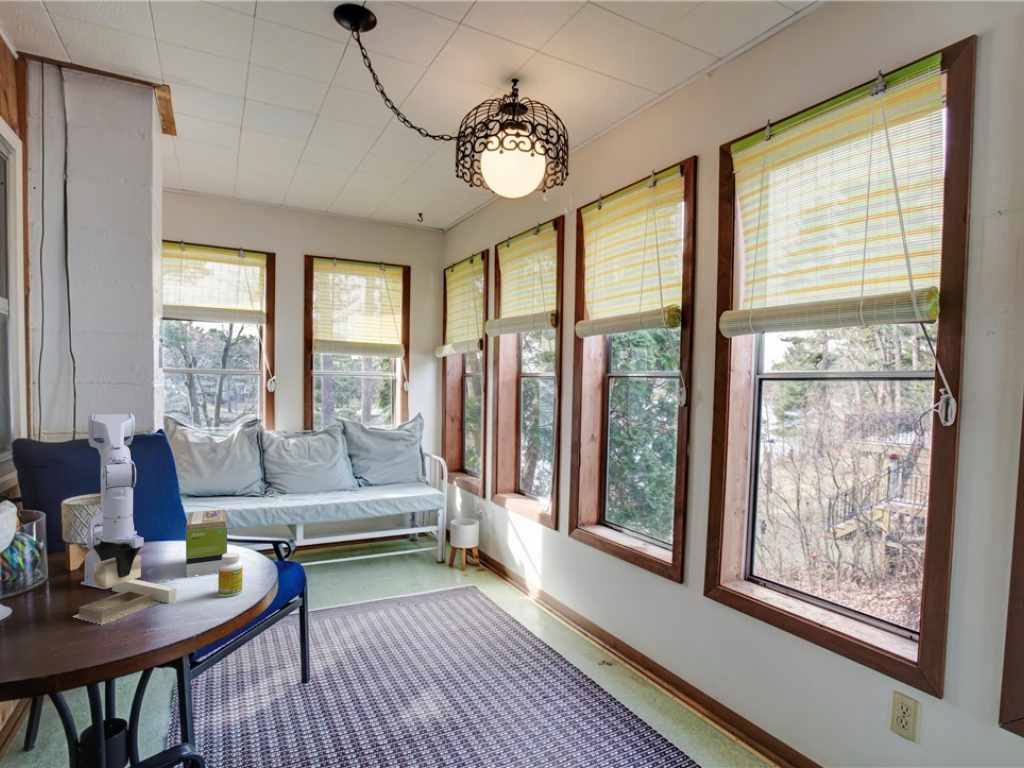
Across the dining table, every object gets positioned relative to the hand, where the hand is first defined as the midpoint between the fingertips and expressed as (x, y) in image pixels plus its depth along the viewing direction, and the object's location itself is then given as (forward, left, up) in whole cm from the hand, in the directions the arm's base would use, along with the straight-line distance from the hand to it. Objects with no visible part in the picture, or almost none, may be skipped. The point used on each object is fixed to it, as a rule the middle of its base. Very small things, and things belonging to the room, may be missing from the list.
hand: (117, 574), depth 130 cm
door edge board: (-3, +9, -8) cm, 12 cm away
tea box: (-7, +30, -8) cm, 32 cm away
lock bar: (0, 0, -2) cm, 2 cm away
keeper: (0, 0, -8) cm, 8 cm away
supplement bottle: (+15, +18, -8) cm, 25 cm away
